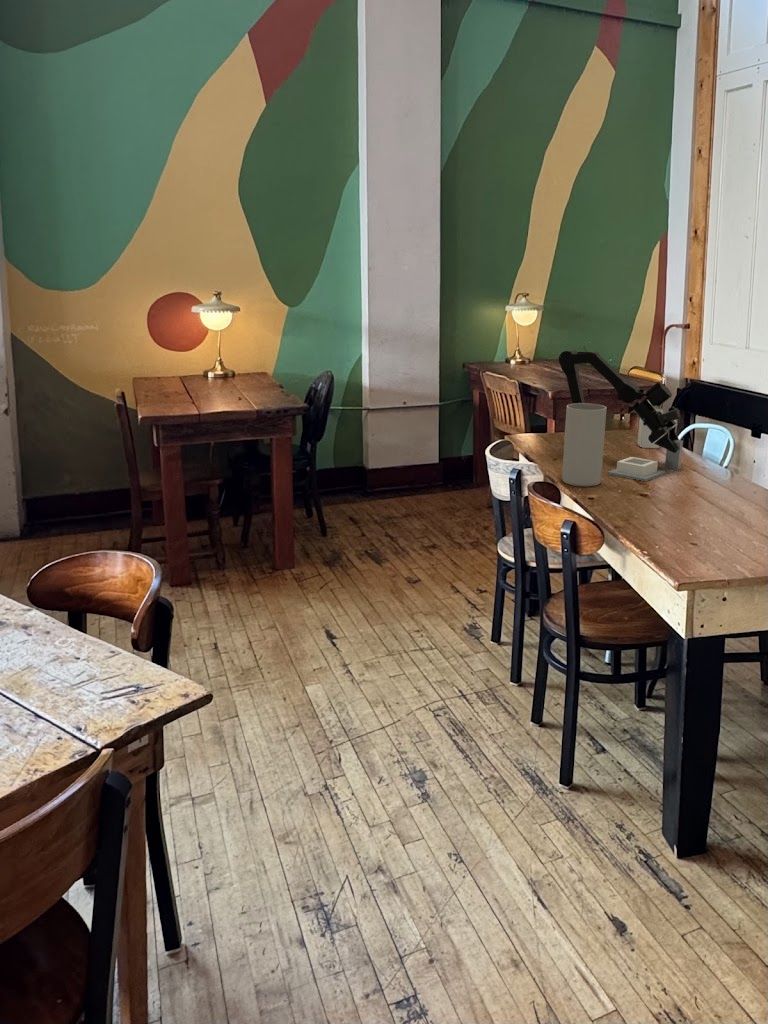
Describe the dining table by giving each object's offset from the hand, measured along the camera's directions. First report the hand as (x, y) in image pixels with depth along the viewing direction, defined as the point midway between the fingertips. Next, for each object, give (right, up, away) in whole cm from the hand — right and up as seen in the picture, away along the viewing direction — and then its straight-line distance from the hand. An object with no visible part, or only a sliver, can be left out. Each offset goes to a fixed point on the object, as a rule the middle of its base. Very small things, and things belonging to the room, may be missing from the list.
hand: (678, 449), depth 304 cm
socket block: (-16, -9, -4) cm, 18 cm away
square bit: (-1, -7, +3) cm, 7 cm away
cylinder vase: (-37, -12, -14) cm, 41 cm away
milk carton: (+1, +4, +37) cm, 37 cm away
